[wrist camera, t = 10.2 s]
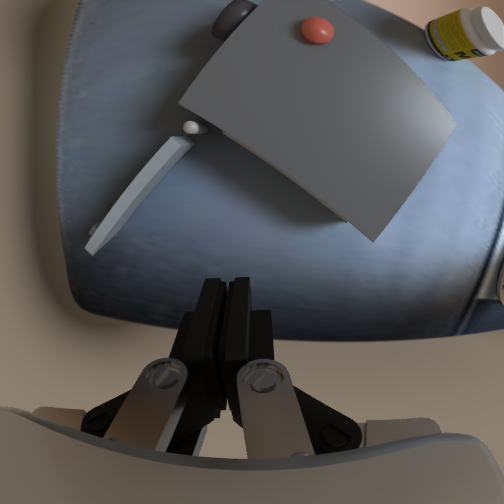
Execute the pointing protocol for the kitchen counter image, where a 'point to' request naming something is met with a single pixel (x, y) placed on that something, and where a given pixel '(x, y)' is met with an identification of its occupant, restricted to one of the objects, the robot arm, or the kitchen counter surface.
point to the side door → (138, 191)
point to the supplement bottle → (466, 34)
